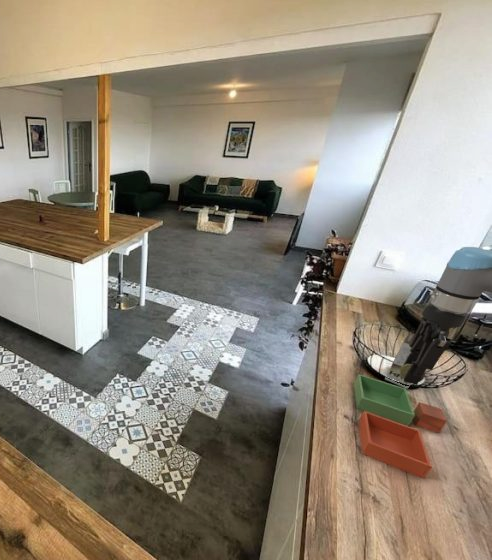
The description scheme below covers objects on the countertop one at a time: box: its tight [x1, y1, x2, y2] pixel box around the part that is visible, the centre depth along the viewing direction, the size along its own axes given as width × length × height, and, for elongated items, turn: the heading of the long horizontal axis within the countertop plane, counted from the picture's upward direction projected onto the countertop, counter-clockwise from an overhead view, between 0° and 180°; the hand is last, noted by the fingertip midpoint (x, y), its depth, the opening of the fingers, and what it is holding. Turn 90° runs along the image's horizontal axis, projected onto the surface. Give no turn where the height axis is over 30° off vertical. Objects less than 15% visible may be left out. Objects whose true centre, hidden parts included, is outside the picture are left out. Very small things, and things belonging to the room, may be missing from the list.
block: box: [413, 401, 448, 434], centre depth 90 cm, size 5×5×5 cm
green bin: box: [353, 373, 415, 427], centre depth 97 cm, size 12×12×4 cm
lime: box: [400, 364, 426, 383], centre depth 87 cm, size 4×5×5 cm
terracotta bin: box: [358, 411, 433, 479], centre depth 84 cm, size 12×12×4 cm
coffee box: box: [384, 332, 415, 390], centre depth 105 cm, size 9×6×16 cm
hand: (408, 377), depth 88 cm, fingers closed on lime, 4 cm apart
